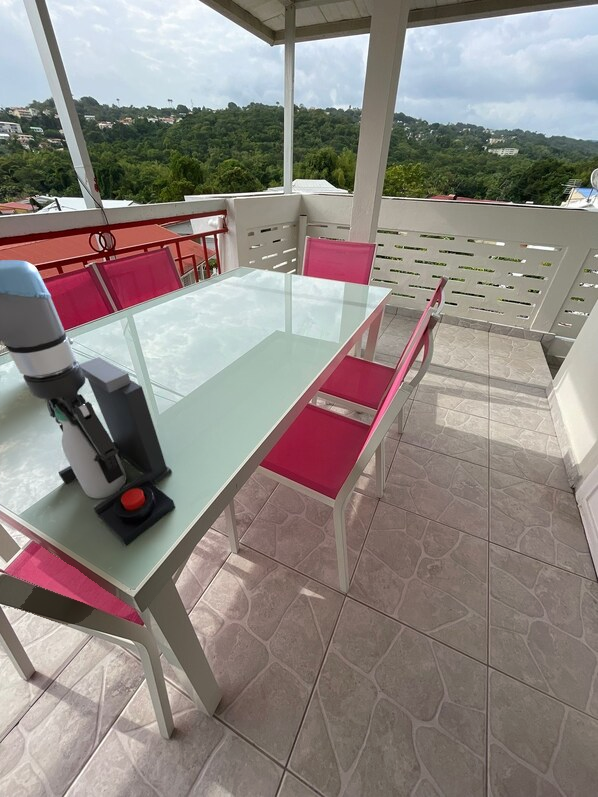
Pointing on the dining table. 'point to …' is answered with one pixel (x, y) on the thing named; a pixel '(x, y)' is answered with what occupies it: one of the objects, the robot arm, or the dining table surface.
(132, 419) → the drink machine
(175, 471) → the dining table surface
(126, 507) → the stop button
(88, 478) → the milk bottle
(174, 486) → the dining table surface
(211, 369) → the dining table surface
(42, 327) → the robot arm
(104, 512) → the switch block
